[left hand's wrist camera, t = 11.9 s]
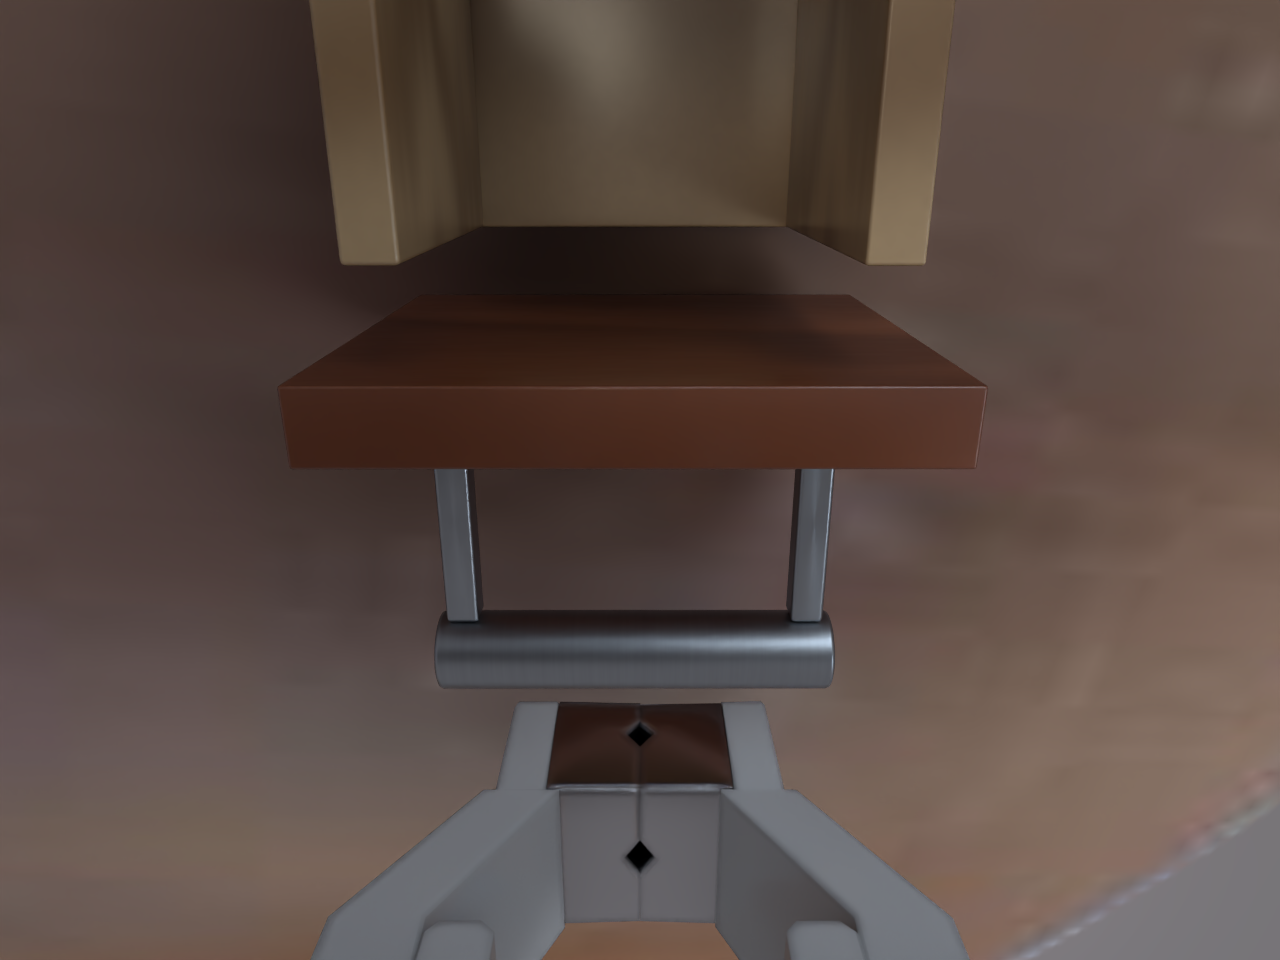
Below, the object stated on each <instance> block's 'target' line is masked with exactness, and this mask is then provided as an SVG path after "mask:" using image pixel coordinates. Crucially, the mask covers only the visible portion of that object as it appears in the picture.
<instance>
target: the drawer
mask: <svg viewBox="0 0 1280 960" xmlns="http://www.w3.org/2000/svg"><path fill="white" fill-rule="evenodd" d="M309 6H310V15H311V23H312V31H313V40H314V48H315V57H316V65H317V73H318V82H319V90H320V99H321V107H322V115H323V124H324V132H325V140H326V149H327V157H328V166H329V174H330V182H331V191H332V199H333V207H334V216H335V224H336V233H337V241H338V249H339V258H340V262H341V264H343V265H346V266H396V265H398V264H401V263H403V262H405V261H407V260H409V259H412V258H414V257H416V256H418V255H420V254H423V253H425V252H427V251H429V250H431V249H434V248H436V247H438V246H440V245H442V244H445V243H447V242H449V241H451V240H453V239H456V238H458V237H460V236H462V235H464V234H467V233H469V232H471V231H473V230H476V229H478V228H480V227H789V228H791V229H793V230H795V231H797V232H799V233H801V234H803V235H805V236H807V237H809V238H812V239H814V240H816V241H818V242H820V243H822V244H824V245H826V246H828V247H830V248H832V249H834V250H836V251H839V252H841V253H843V254H845V255H847V256H849V257H851V258H853V259H855V260H857V261H859V262H861V263H863V264H866V265H868V266H922V265H924V264H925V262H926V255H927V246H928V238H929V229H930V220H931V211H932V202H933V194H934V185H935V176H936V167H937V158H938V150H939V141H940V132H941V123H942V114H943V106H944V97H945V88H946V79H947V70H948V61H949V53H950V44H951V35H952V26H953V17H954V9H955V0H309ZM987 392H988V387H987V386H986V385H985V384H983V383H982V382H980V381H979V380H977V379H976V378H974V377H973V376H971V375H970V374H968V373H967V372H965V371H964V370H962V369H961V368H959V367H958V366H956V365H955V364H953V363H952V362H950V361H949V360H947V359H946V358H944V357H943V356H941V355H940V354H938V353H937V352H935V351H933V350H932V349H930V348H929V347H927V346H926V345H924V344H923V343H921V342H920V341H918V340H917V339H915V338H914V337H912V336H911V335H909V334H908V333H906V332H905V331H903V330H902V329H900V328H899V327H897V326H896V325H894V324H893V323H891V322H890V321H888V320H887V319H885V318H884V317H882V316H881V315H879V314H878V313H876V312H875V311H873V310H872V309H870V308H869V307H867V306H866V305H864V304H863V303H861V302H859V301H858V300H856V299H855V298H853V297H852V296H850V295H420V296H419V297H417V298H415V299H414V300H412V301H411V302H409V303H408V304H406V305H405V306H403V307H401V308H400V309H398V310H397V311H395V312H394V313H392V314H390V315H389V316H387V317H386V318H384V319H383V320H381V321H380V322H378V323H376V324H375V325H373V326H372V327H370V328H369V329H367V330H365V331H364V332H362V333H361V334H359V335H358V336H356V337H355V338H353V339H351V340H350V341H348V342H347V343H345V344H344V345H342V346H340V347H339V348H337V349H336V350H334V351H333V352H331V353H330V354H328V355H326V356H325V357H323V358H322V359H320V360H319V361H317V362H315V363H314V364H312V365H311V366H309V367H308V368H306V369H305V370H303V371H301V372H300V373H298V374H297V375H295V376H294V377H292V378H290V379H289V380H287V381H286V382H284V383H283V384H281V385H280V386H278V396H279V402H280V409H281V415H282V422H283V429H284V435H285V442H286V448H287V455H288V461H289V467H290V469H434V476H435V487H436V498H437V509H438V521H439V532H440V543H441V554H442V565H443V577H444V588H445V599H446V610H447V611H444V612H443V613H442V615H441V617H440V619H439V622H438V626H437V631H436V638H435V650H434V661H435V673H436V678H437V681H438V684H439V686H440V687H442V688H444V689H538V688H827V687H829V686H830V685H831V682H832V679H833V674H834V666H835V645H834V635H833V629H832V624H831V621H830V618H829V615H828V614H827V612H826V611H823V602H824V590H825V578H826V566H827V554H828V542H829V531H830V519H831V507H832V495H833V483H834V471H835V469H975V468H976V467H977V461H978V454H979V447H980V440H981V433H982V426H983V419H984V413H985V406H986V399H987ZM474 469H795V482H794V497H793V512H792V527H791V542H790V557H789V571H788V586H787V601H786V607H787V610H482V608H483V593H482V580H481V566H480V552H479V538H478V524H477V510H476V497H475V483H474Z"/></svg>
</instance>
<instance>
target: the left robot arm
mask: <svg viewBox="0 0 1280 960" xmlns="http://www.w3.org/2000/svg"><path fill="white" fill-rule="evenodd" d="M619 921H659V922H695V923H715V927H716V928H717V930H718V931H719V932H720V934H721V935H722V937H723V938H724V939H725V941H726V942H727V943H728V945H729V946H730V948H731V949H732V950H733V952H734V953H735V954H736V956H737V957H738V959H739V960H970V959H969V956H968V954H967V952H966V949H965V947H964V944H963V942H962V939H961V937H960V935H959V932H958V930H957V927H956V925H955V922H954V920H953V918H952V917H951V916H950V915H948V914H947V913H946V912H945V911H943V910H942V909H941V908H940V907H939V906H937V905H936V904H935V903H934V902H932V901H931V900H930V899H929V898H928V897H926V896H925V895H924V894H923V893H921V892H920V891H919V890H918V889H917V888H915V887H914V886H913V885H912V884H911V883H909V882H908V881H907V880H906V879H904V878H903V877H902V876H901V875H900V874H898V873H897V872H896V871H895V870H893V869H892V868H891V867H890V866H889V865H887V864H886V863H885V862H884V861H883V860H881V859H880V858H879V857H878V856H876V855H875V854H874V853H873V852H872V851H870V850H869V849H868V848H867V847H865V846H864V845H863V844H862V843H861V842H859V841H858V840H857V839H856V838H854V837H853V836H852V835H851V834H850V833H848V832H847V831H846V830H845V829H844V828H842V827H841V826H840V825H839V824H837V823H836V822H835V821H834V820H833V819H831V818H830V817H829V816H828V815H826V814H825V813H824V812H823V811H822V810H820V809H819V808H818V807H817V806H816V805H814V804H813V803H812V802H811V801H809V800H808V799H807V798H806V797H805V796H803V795H802V794H801V793H800V792H798V791H797V790H784V786H783V782H782V778H781V774H780V769H779V765H778V761H777V756H776V752H775V748H774V743H773V739H772V735H771V731H770V726H769V722H768V718H767V713H766V709H765V705H764V704H763V703H762V702H761V701H748V702H721V703H709V704H641V705H640V703H594V702H560V704H559V703H558V702H519V703H518V704H517V705H516V707H515V708H514V712H513V717H512V721H511V725H510V730H509V734H508V738H507V743H506V747H505V752H504V756H503V760H502V765H501V769H500V773H499V778H498V782H497V786H496V790H483V791H482V792H480V793H479V794H478V795H477V796H475V797H474V798H473V799H472V800H471V801H469V802H468V803H467V804H466V805H464V806H463V807H462V808H461V809H460V810H458V811H457V812H456V813H455V814H453V815H452V816H451V817H450V818H449V819H447V820H446V821H445V822H444V823H442V824H441V825H440V826H439V827H438V828H436V829H435V830H434V831H433V832H431V833H430V834H429V835H428V836H427V837H425V838H424V839H423V840H422V841H420V842H419V843H418V844H417V845H415V846H414V847H413V848H412V849H411V850H409V851H408V852H407V853H406V854H404V855H403V856H402V857H401V858H400V859H398V860H397V861H396V862H395V863H393V864H392V865H391V866H390V867H389V868H387V869H386V870H385V871H384V872H382V873H381V874H380V875H379V876H378V877H376V878H375V879H374V880H373V881H371V882H370V883H369V884H368V885H367V886H365V887H364V888H363V889H362V890H360V891H359V892H358V893H357V894H355V895H354V896H353V897H352V898H351V899H349V900H348V901H347V902H346V903H344V904H343V905H342V906H341V907H340V908H338V909H337V910H336V911H335V912H333V913H332V914H331V915H330V916H329V917H328V919H327V921H326V923H325V926H324V928H323V931H322V933H321V935H320V938H319V940H318V943H317V945H316V947H315V950H314V952H313V955H312V957H311V959H310V960H541V959H542V958H543V957H544V955H545V954H546V953H547V951H548V950H549V948H550V947H551V946H552V944H553V943H554V942H555V940H556V939H557V938H558V936H559V935H560V933H561V932H562V931H563V929H564V928H565V923H585V922H619Z"/></svg>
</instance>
